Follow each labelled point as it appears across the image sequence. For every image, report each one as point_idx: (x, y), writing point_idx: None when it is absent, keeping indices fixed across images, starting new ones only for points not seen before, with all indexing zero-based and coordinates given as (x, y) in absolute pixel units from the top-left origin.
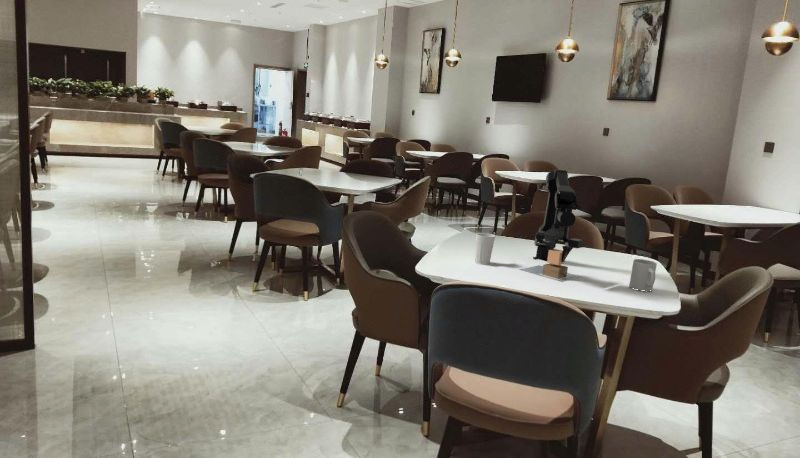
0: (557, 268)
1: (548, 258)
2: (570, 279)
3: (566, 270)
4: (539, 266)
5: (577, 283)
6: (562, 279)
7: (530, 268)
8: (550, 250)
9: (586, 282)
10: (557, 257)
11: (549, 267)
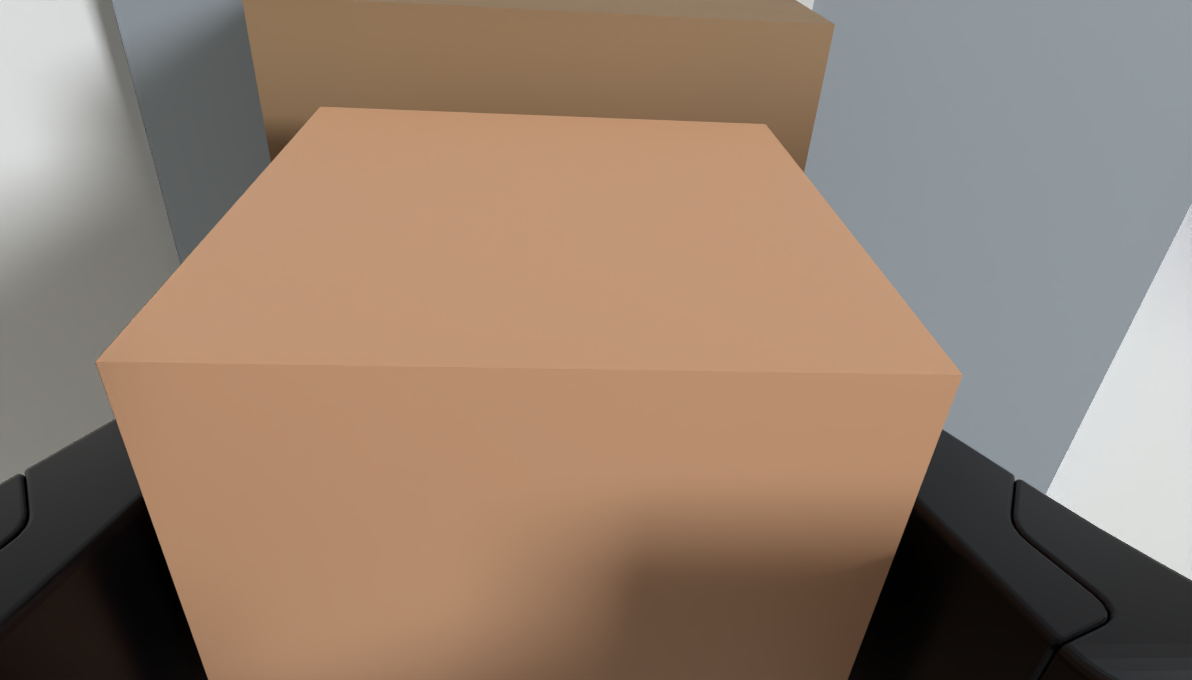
0: (302, 5)
1: (765, 171)
2: (185, 211)
3: None
4: None
5: (2, 164)
6: (244, 31)
7: (1112, 228)
8: (840, 377)
9: (32, 386)
10: (327, 216)
11: (599, 9)
